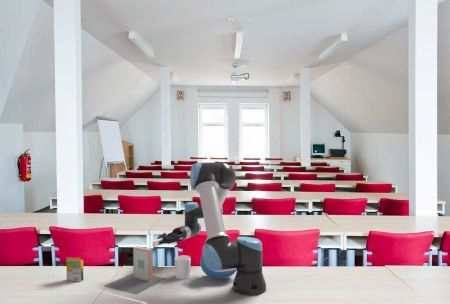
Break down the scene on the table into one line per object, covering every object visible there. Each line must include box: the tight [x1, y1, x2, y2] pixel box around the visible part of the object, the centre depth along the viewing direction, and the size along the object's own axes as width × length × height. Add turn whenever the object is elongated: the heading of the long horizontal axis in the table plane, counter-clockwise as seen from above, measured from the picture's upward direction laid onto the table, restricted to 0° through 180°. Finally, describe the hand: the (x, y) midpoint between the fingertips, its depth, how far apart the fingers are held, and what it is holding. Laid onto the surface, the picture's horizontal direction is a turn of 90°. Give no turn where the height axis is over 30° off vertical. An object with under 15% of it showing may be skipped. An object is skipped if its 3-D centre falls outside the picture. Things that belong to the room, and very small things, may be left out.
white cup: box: [174, 254, 192, 280], centre depth 195 cm, size 8×8×10 cm
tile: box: [132, 246, 154, 282], centre depth 192 cm, size 10×2×15 cm, turn 61°
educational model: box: [199, 254, 237, 280], centre depth 195 cm, size 16×19×15 cm
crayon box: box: [65, 256, 84, 282], centre depth 193 cm, size 7×3×12 cm, turn 84°
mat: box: [104, 272, 168, 295], centre depth 188 cm, size 20×22×1 cm
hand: (153, 244), depth 200 cm, fingers closed
